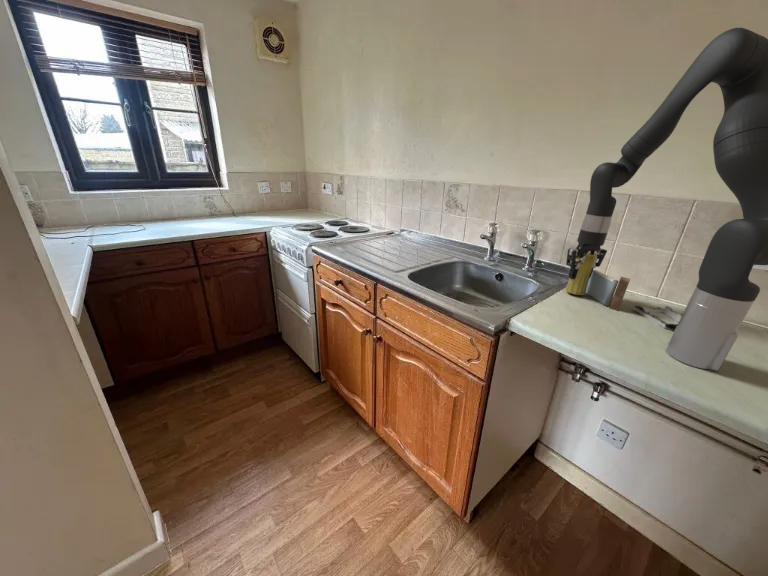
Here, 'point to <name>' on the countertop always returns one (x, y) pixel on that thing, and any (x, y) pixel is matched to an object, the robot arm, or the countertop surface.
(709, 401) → the countertop surface
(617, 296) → the gate post
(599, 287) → the grey flat panel
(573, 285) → the vase
